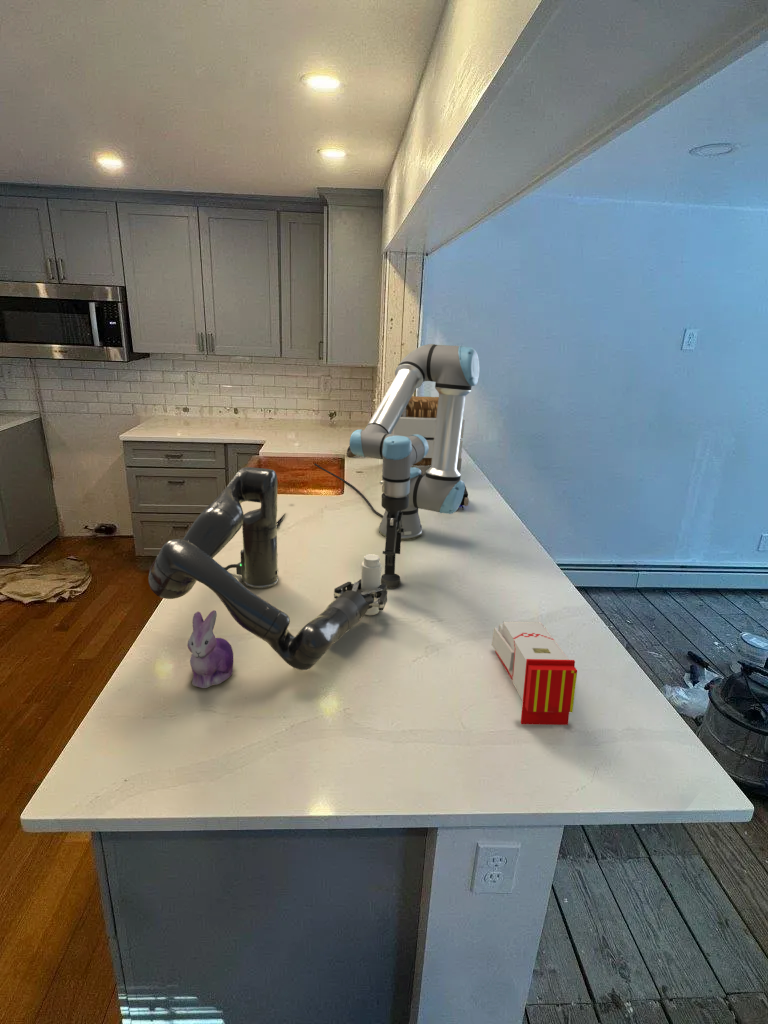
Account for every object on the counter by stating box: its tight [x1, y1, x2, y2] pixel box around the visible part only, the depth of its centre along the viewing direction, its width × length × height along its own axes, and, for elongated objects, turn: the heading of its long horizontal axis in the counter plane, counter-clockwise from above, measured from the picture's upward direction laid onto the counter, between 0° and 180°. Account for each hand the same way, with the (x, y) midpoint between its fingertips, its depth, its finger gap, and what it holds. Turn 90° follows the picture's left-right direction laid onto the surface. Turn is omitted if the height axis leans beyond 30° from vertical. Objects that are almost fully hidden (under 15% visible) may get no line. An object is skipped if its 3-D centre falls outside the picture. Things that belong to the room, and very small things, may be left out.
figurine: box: [187, 609, 234, 689], centre depth 117 cm, size 9×10×15 cm
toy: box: [491, 621, 578, 726], centre depth 121 cm, size 12×13×30 cm
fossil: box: [346, 445, 356, 458], centre depth 305 cm, size 22×10×15 cm
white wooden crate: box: [391, 395, 465, 475], centre depth 268 cm, size 34×33×41 cm
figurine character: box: [459, 486, 470, 511], centre depth 230 cm, size 7×8×15 cm
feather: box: [276, 513, 286, 529], centre depth 210 cm, size 2×28×2 cm
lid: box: [380, 573, 401, 589], centre depth 163 cm, size 6×6×2 cm
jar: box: [360, 553, 382, 616], centre depth 146 cm, size 5×5×15 cm
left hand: (374, 583), depth 149 cm, fingers closed on jar, 5 cm apart
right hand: (392, 563), depth 162 cm, fingers open, 13 cm apart
